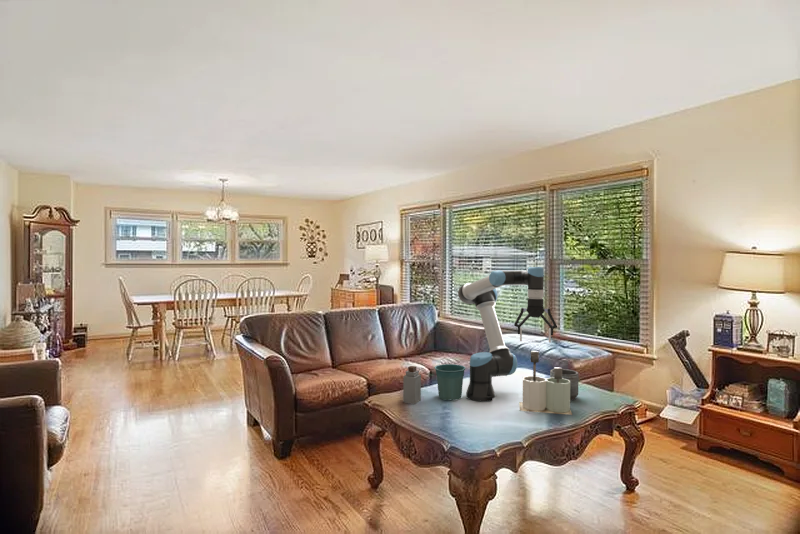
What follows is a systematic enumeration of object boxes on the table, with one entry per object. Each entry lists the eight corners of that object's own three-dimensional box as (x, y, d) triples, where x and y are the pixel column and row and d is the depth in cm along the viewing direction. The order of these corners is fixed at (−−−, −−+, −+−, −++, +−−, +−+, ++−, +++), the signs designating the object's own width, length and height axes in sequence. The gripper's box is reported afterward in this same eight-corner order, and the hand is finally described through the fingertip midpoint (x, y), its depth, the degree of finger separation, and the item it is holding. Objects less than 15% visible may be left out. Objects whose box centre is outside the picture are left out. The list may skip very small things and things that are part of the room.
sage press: (546, 411, 225) (547, 370, 225) (544, 402, 239) (545, 363, 239) (570, 413, 223) (571, 371, 222) (567, 404, 236) (568, 364, 236)
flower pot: (436, 402, 243) (436, 371, 243) (432, 393, 260) (433, 363, 259) (467, 402, 244) (468, 371, 243) (462, 392, 260) (462, 363, 260)
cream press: (522, 409, 228) (523, 381, 227) (522, 401, 242) (522, 374, 241) (546, 411, 225) (546, 382, 225) (544, 402, 239) (544, 375, 239)
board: (519, 413, 227) (519, 410, 227) (519, 404, 240) (519, 402, 240) (572, 417, 221) (572, 414, 221) (568, 408, 235) (568, 405, 235)
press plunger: (525, 384, 228) (526, 352, 228) (525, 380, 237) (525, 349, 236) (543, 385, 226) (544, 353, 226) (542, 381, 235) (543, 350, 234)
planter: (580, 404, 240) (580, 375, 240) (551, 403, 243) (551, 374, 243) (575, 396, 254) (576, 369, 254) (548, 395, 257) (548, 367, 257)
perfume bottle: (403, 402, 243) (403, 367, 242) (409, 398, 249) (409, 364, 248) (415, 404, 240) (415, 368, 239) (420, 400, 246) (421, 366, 245)
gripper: (509, 298, 230) (509, 341, 230) (563, 299, 224) (562, 343, 224) (509, 297, 237) (509, 339, 238) (561, 298, 231) (561, 341, 232)
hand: (535, 341), depth 231 cm, fingers open, 13 cm apart
